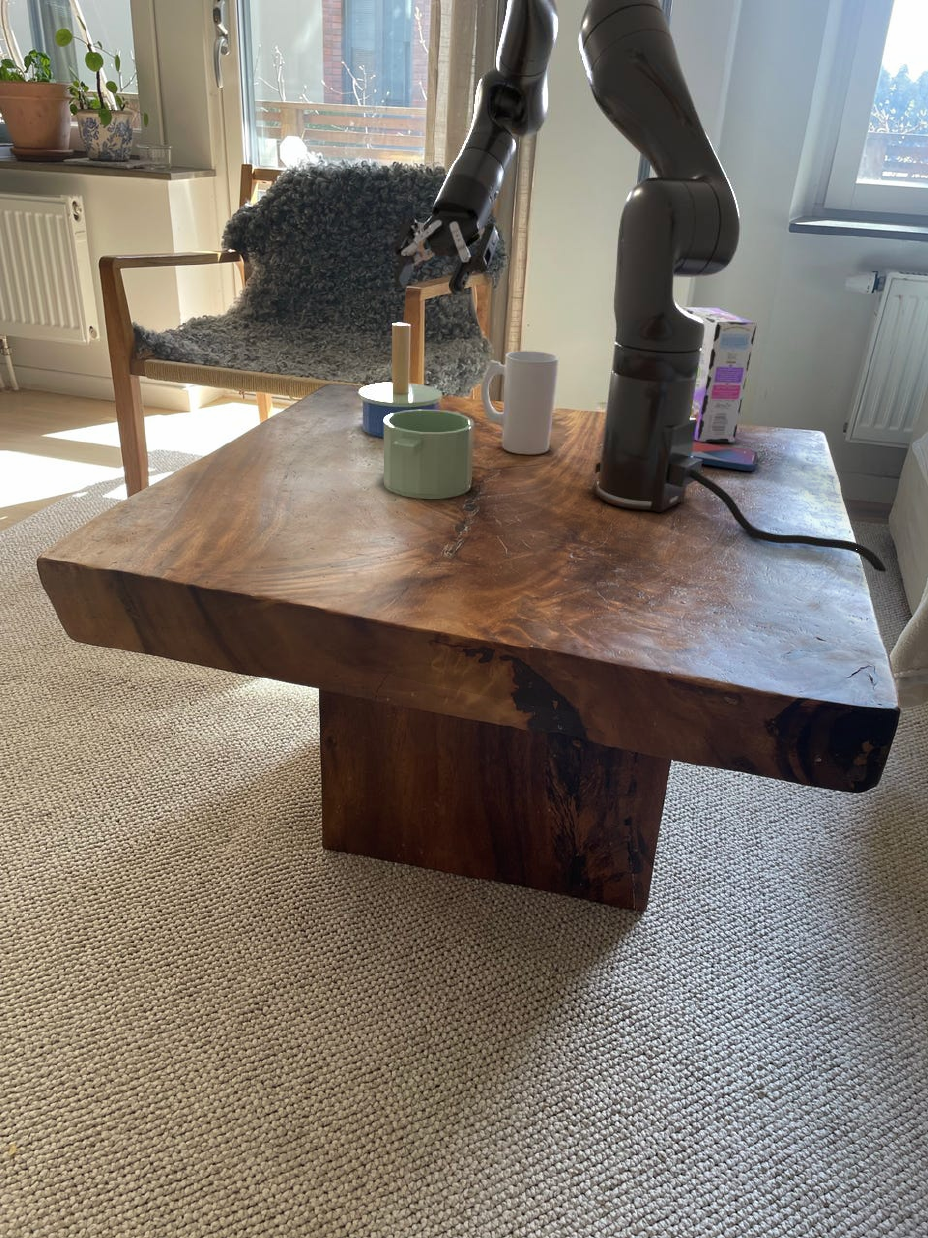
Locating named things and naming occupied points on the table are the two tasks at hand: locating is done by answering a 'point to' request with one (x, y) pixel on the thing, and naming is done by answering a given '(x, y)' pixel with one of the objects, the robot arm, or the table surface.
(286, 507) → the table surface
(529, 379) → the mug
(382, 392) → the lid
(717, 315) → the candy box
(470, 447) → the pot
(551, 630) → the table surface
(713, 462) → the smartphone
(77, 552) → the table surface
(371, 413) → the pan
